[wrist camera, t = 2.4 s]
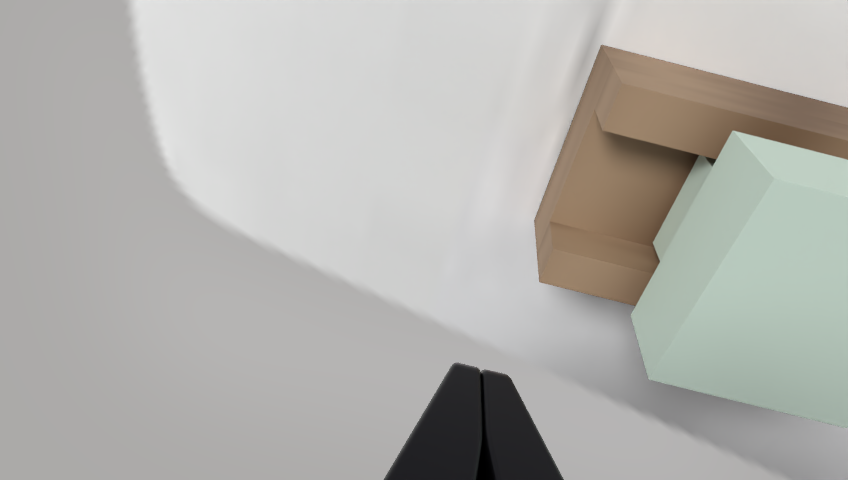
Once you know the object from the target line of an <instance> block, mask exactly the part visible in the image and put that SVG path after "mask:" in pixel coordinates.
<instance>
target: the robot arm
mask: <svg viewBox="0 0 848 480" xmlns="http://www.w3.org/2000/svg"><path fill="white" fill-rule="evenodd" d="M384 480H564V479H563V477H562V476H561V474H560V472H559V470H558V468H557V466H556V464H555V462H554V460H553V458H552V456H551V454H550V453H549V451H548V449H547V447H546V445H545V443H544V441H543V439H542V437H541V435H540V434H539V432H538V430H537V428H536V426H535V424H534V422H533V420H532V418H531V416H530V414H529V412H528V411H527V409H526V407H525V405H524V403H523V401H522V399H521V397H520V395H519V393H518V392H517V390H516V388H515V386H514V384H513V382H512V380H511V378H510V377H509V376H508V375H506V374H502V373H498V372H494V371H490V370H482V371H481V372H480V370H479V369H478V368H477V367H473V366H469V365H465V364H460V363H454V364H453V365H452V366H451V368H450V369H449V371H448V373H447V374H446V376H445V378H444V380H443V381H442V383H441V384H440V386H439V388H438V390H437V391H436V393H435V394H434V396H433V398H432V399H431V401H430V403H429V405H428V406H427V408H426V410H425V411H424V413H423V415H422V416H421V418H420V420H419V421H418V423H417V425H416V426H415V428H414V430H413V431H412V433H411V435H410V436H409V438H408V440H407V441H406V443H405V445H404V446H403V448H402V450H401V452H400V453H399V455H398V457H397V459H396V460H395V462H394V463H393V465H392V467H391V468H390V470H389V472H388V473H387V475H386V477H385V478H384Z"/></svg>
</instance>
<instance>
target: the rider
mask: <svg viewBox="0 0 848 480" xmlns="http://www.w3.org/2000/svg"><path fill="white" fill-rule="evenodd" d="M653 245H654V247H655V250H656V252H657V255H658V258H659V260H660V263H659V265H658V267H657V268H656V270H655V272H654V274H653V276H652V277H651V279H650V281H649V283H648V285H647V286H646V288H645V290H644V292H643V294H642V296H641V297H640V299H639V301H638V303H637V305H636V306H635V308H634V310H633V312H632V314H631V319H632V323H633V326H634V330H635V333H636V337H637V341H638V344H639V348H640V351H641V355H642V358H643V362H644V366H645V369H646V373H647V376H648V380H652V381H656V382H660V383H664V384H668V385H672V386H677V387H681V388H685V389H689V390H693V391H697V392H701V393H705V394H709V395H713V396H717V397H721V398H725V399H729V400H734V401H738V402H742V403H746V404H750V405H754V406H758V407H762V408H766V409H770V410H774V411H778V412H782V413H786V414H790V415H795V416H799V417H803V418H807V419H811V420H815V421H819V422H823V423H827V424H831V425H835V426H839V427H843V428H847V427H848V160H847V159H843V158H839V157H835V156H831V155H827V154H823V153H819V152H815V151H812V150H808V149H804V148H800V147H796V146H792V145H788V144H784V143H780V142H776V141H772V140H768V139H764V138H760V137H756V136H753V135H749V134H745V133H741V132H737V131H732V133H731V134H730V136H729V138H728V140H727V142H726V143H725V145H724V147H723V149H722V151H721V152H720V154H719V156H718V158H717V159H713V158H709V157H705V156H701V155H699V157H698V158H697V160H696V162H695V164H694V166H693V168H692V170H691V172H690V173H689V175H688V177H687V179H686V181H685V183H684V185H683V187H682V189H681V190H680V192H679V194H678V196H677V198H676V200H675V202H674V204H673V205H672V207H671V209H670V211H669V213H668V215H667V217H666V219H665V221H664V222H663V224H662V226H661V228H660V230H659V232H658V234H657V236H656V237H655V239H654V241H653Z"/></svg>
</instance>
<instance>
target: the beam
mask: <svg viewBox="0 0 848 480" xmlns="http://www.w3.org/2000/svg"><path fill="white" fill-rule="evenodd" d="M732 131H737V132H741V133H745V134H749V135H753V136H756V137H760V138H764V139H768V140H772V141H776V142H780V143H784V144H788V145H792V146H796V147H800V148H804V149H808V150H812V151H815V152H819V153H823V154H827V155H831V156H835V157H839V158H843V159H847V160H848V108H846V107H842V106H838V105H835V104H831V103H827V102H823V101H819V100H815V99H811V98H807V97H803V96H799V95H795V94H792V93H788V92H784V91H780V90H776V89H772V88H768V87H764V86H760V85H756V84H752V83H749V82H745V81H741V80H737V79H733V78H729V77H725V76H721V75H717V74H713V73H709V72H706V71H702V70H698V69H694V68H690V67H686V66H682V65H678V64H674V63H670V62H666V61H663V60H659V59H655V58H651V57H647V56H643V55H639V54H635V53H631V52H627V51H623V50H620V49H616V48H612V47H608V46H604V45H601V47H600V50H599V52H598V55H597V57H596V60H595V63H594V65H593V68H592V71H591V73H590V76H589V78H588V81H587V84H586V86H585V89H584V92H583V94H582V97H581V99H580V102H579V105H578V107H577V110H576V112H575V115H574V118H573V120H572V123H571V126H570V128H569V131H568V133H567V136H566V139H565V141H564V144H563V147H562V149H561V152H560V154H559V157H558V160H557V162H556V165H555V168H554V170H553V173H552V175H551V178H550V181H549V183H548V186H547V189H546V191H545V194H544V196H543V199H542V202H541V204H540V207H539V209H538V212H537V215H536V217H535V220H534V223H535V235H536V247H537V260H538V272H539V282H541V283H545V284H549V285H553V286H557V287H561V288H565V289H570V290H574V291H578V292H582V293H586V294H590V295H594V296H598V297H602V298H606V299H610V300H614V301H618V302H622V303H626V304H630V305H634V306H636V305H637V303H638V301H639V299H640V297H641V296H642V294H643V292H644V290H645V288H646V286H647V285H648V283H649V281H650V279H651V277H652V276H653V274H654V272H655V270H656V268H657V267H658V265H659V263H660V260H659V258H658V255H657V252H656V250H655V247H654V245H653V241H654V239H655V237H656V236H657V234H658V232H659V230H660V228H661V226H662V224H663V222H664V221H665V219H666V217H667V215H668V213H669V211H670V209H671V207H672V205H673V204H674V202H675V200H676V198H677V196H678V194H679V192H680V190H681V189H682V187H683V185H684V183H685V181H686V179H687V177H688V175H689V173H690V172H691V170H692V168H693V166H694V164H695V162H696V160H697V158H698V157H699V155H701V156H705V157H709V158H713V159H717V158H718V156H719V154H720V152H721V151H722V149H723V147H724V145H725V143H726V142H727V140H728V138H729V136H730V134H731V133H732Z"/></svg>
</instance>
